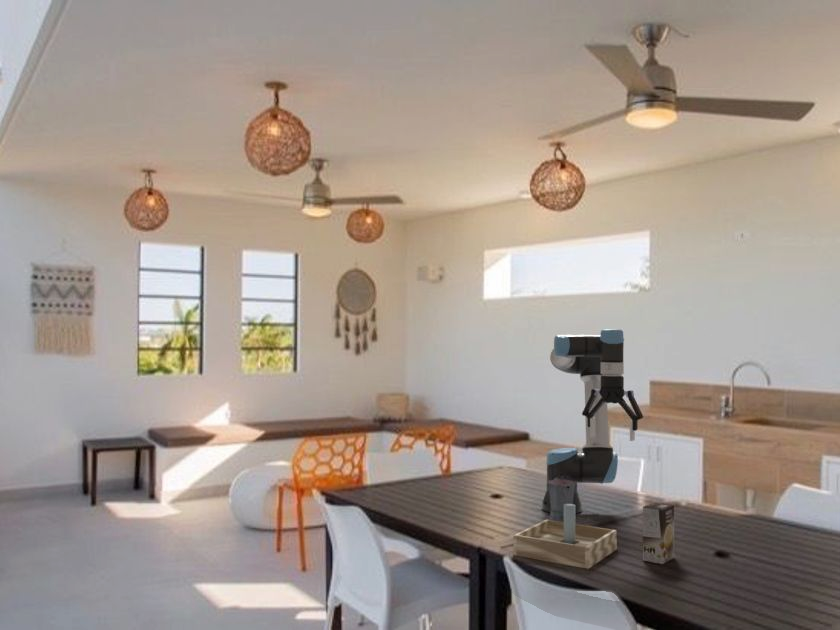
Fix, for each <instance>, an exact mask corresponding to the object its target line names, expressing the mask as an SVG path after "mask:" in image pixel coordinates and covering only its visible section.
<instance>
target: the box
mask: <svg viewBox="0 0 840 630" xmlns="http://www.w3.org/2000/svg"><path fill="white" fill-rule="evenodd" d="M617 534H618V531H617V530H616V529H612V528H611V529H610V528H604V527H598V526H591V525H586V524H585V525H584V524H577V523H575V544H569V543H564V522H559V521H552V520H549V519H544V520H542V521H541V522H540V521H539V522H538V523H536V524H534V525H532V526H530V527H528V528H526V529H523V530H522V531H519V532H517V533H515V534H513V540H512V541H513V542H512V543H513V552H512V554H513V556H517V557H521V558H528V559H534V560H540V561H543V562H549V561H550V562H549V563H556V564H560V565H567V566H571V567H577V568H582V569H587V570H589V569H591V568H592V567H593V566H595V565H596V564H597V563H599V562H600V561H603V559H605V558H607V556H609V555H611V554H612V553H614V552H615V551H617V549H618V545H617V543H618V539H617V537H618V535H617Z"/></svg>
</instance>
